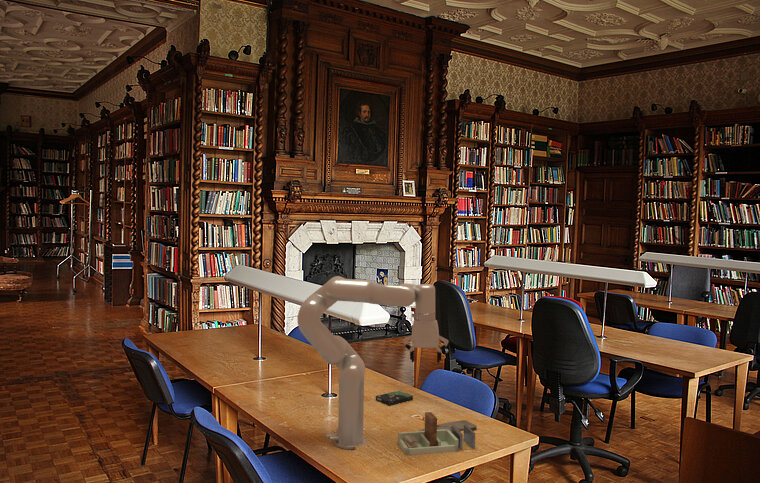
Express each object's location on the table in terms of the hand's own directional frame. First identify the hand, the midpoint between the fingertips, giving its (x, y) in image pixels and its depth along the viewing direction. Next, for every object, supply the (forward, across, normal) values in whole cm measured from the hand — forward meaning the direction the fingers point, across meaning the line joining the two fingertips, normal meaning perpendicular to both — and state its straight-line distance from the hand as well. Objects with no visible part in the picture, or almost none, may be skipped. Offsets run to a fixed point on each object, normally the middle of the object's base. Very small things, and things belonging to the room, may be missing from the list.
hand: (425, 361), depth 227 cm
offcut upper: (+29, -5, -7) cm, 30 cm away
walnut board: (+31, +2, -4) cm, 31 cm away
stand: (+33, +14, +1) cm, 35 cm away
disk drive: (+33, -20, +51) cm, 63 cm away
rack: (+32, +1, -5) cm, 33 cm away
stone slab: (+33, +6, +15) cm, 37 cm away
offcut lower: (+31, -5, -7) cm, 32 cm away
